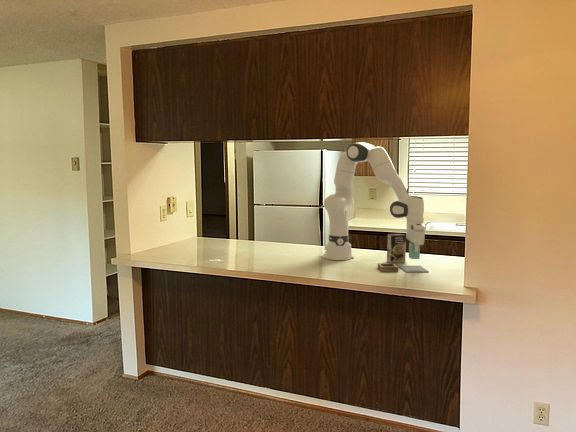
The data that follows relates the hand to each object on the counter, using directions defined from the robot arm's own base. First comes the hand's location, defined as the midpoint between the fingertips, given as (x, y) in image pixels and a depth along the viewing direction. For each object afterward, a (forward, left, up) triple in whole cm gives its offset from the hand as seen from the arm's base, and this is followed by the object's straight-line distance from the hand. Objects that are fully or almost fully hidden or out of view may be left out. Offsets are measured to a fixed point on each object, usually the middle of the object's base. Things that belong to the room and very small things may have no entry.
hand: (414, 250), depth 264 cm
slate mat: (0, 0, -11) cm, 11 cm away
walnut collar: (0, -14, -11) cm, 18 cm away
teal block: (0, 0, -4) cm, 4 cm away
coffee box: (-20, -4, -11) cm, 23 cm away
